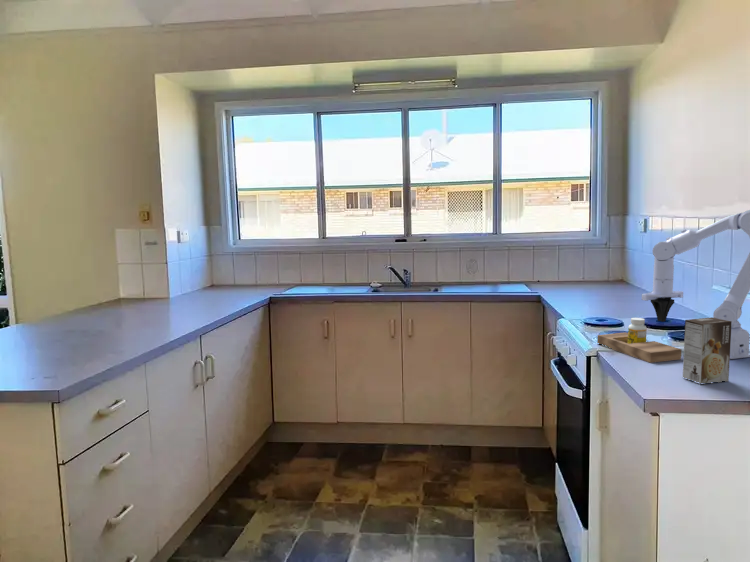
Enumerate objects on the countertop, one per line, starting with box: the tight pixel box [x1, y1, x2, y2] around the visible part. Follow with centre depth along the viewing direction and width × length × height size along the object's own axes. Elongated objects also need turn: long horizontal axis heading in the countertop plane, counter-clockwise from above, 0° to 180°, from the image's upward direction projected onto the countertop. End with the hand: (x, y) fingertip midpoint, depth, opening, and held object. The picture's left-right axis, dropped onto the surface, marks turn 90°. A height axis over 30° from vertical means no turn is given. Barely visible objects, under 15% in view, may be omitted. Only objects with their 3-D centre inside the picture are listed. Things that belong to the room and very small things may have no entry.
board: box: [596, 331, 682, 364], centre depth 185 cm, size 24×11×3 cm, turn 17°
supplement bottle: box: [627, 317, 648, 344], centre depth 188 cm, size 5×5×10 cm
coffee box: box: [682, 316, 732, 384], centre depth 154 cm, size 9×6×16 cm
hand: (661, 321), depth 190 cm, fingers closed
